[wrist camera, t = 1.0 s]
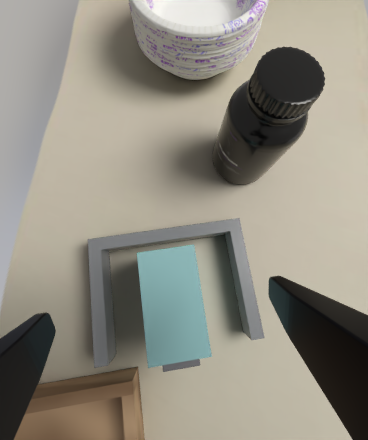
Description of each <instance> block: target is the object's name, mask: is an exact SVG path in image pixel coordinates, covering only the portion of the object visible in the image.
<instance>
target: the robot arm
mask: <svg viewBox="0 0 368 440" xmlns="http://www.w3.org/2000/svg"><path fill="white" fill-rule="evenodd" d="M269 298H270V300H271V302H272V304H273V306H274V308H275V311H276V313H277V315H278V317H279V319H280V321H281V323H282V325H283V327H284V329H285V331H286V333H287V334H288V336H289V338H290V340H291V341H292V343H293V344H294V346H295V348H296V349H297V351H298V352H299V354H300V356H301V357H302V359H303V360H304V362H305V364H306V365H307V367H308V368H309V370H310V372H311V373H312V375H313V376H314V378H315V380H316V381H317V383H318V385H319V386H320V388H321V389H322V391H323V393H324V394H325V396H326V397H327V399H328V401H329V402H330V404H331V405H332V407H333V409H334V410H335V412H336V413H337V415H338V417H339V418H340V420H341V421H342V423H343V425H344V426H345V428H346V430H347V431H348V433H349V434H350V436H351V438H352V439H353V440H368V315H366V314H364V313H362V312H359V311H357V310H355V309H353V308H350V307H348V306H346V305H344V304H342V303H339V302H337V301H335V300H333V299H330V298H328V297H326V296H324V295H321V294H319V293H317V292H315V291H313V290H310V289H308V288H306V287H304V286H301V285H299V284H297V283H295V282H293V281H290V280H288V279H286V278H284V277H281V276H274V277H270V278H269ZM54 336H55V326H54V324H53V322H52V319H51V317H50V315H49V314H48V313H40V314H36V315H34V316H33V317H31V318H30V319H28V320H27V321H25V322H24V323H22V324H21V325H20V326H18V327H17V328H15V329H14V330H12V331H11V332H9V333H8V334H7V335H5V336H4V337H2V338H1V339H0V440H14V438H15V436H16V434H17V431H18V429H19V427H20V424H21V422H22V420H23V417H24V415H25V413H26V410H27V408H28V406H29V403H30V401H31V399H32V397H33V394H34V392H35V390H36V387H37V385H38V383H39V380H40V378H41V375H42V372H43V369H44V366H45V363H46V360H47V357H48V354H49V351H50V348H51V345H52V342H53V339H54Z"/></svg>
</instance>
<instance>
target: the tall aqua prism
mask: <svg viewBox="0 0 368 440" xmlns="http://www.w3.org/2000/svg"><path fill="white" fill-rule="evenodd" d="M137 260H138V270H139V280H140V290H141V300H142V310H143V320H144V330H145V340H146V351H147V361H148V368H150V367H156V366H163V372H166V371H171V370H177V369H183V368H188V367H194V366H199V365H200V360H199V359H201V358H207V357H212V355H211V349H210V343H209V336H208V330H207V323H206V317H205V311H204V304H203V298H202V292H201V285H200V279H199V273H198V266H197V260H196V254H195V247H194V245H187V246H180V247H174V248H167V249H160V250H153V251H146V252H139V253H137Z"/></svg>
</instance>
